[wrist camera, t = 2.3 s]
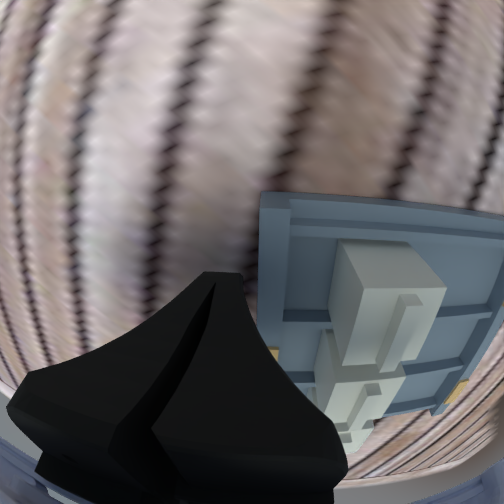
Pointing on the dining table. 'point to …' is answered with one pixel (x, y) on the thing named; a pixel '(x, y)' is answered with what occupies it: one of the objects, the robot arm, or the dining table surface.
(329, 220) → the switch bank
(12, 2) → the dining table surface
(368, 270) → the tab
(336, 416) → the tab
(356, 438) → the tab
